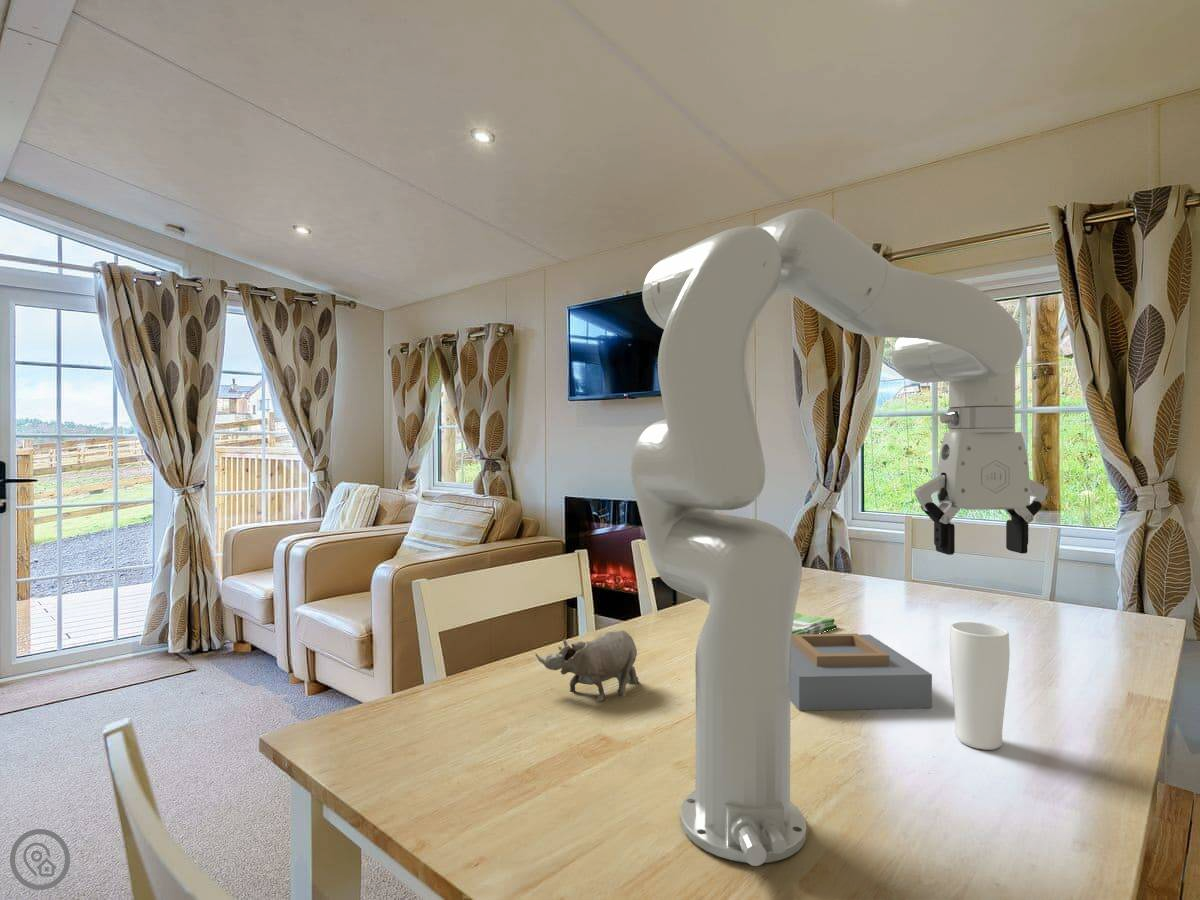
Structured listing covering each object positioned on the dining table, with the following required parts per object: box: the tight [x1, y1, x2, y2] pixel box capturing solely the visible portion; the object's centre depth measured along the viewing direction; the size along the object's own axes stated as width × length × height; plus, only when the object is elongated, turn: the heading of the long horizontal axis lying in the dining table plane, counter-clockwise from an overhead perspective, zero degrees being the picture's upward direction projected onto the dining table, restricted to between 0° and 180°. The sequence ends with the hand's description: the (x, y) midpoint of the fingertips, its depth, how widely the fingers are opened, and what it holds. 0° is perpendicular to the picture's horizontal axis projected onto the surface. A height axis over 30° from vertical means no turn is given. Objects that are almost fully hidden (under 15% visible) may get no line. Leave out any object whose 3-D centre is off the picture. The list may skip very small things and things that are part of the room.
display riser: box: [790, 633, 933, 712], centre depth 106 cm, size 20×20×6 cm
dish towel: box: [792, 611, 838, 634], centre depth 137 cm, size 17×23×4 cm
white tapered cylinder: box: [949, 621, 1011, 751], centre depth 85 cm, size 7×7×15 cm
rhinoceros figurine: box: [535, 629, 639, 703], centre depth 102 cm, size 8×14×15 cm
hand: (980, 552), depth 85 cm, fingers open, 9 cm apart
